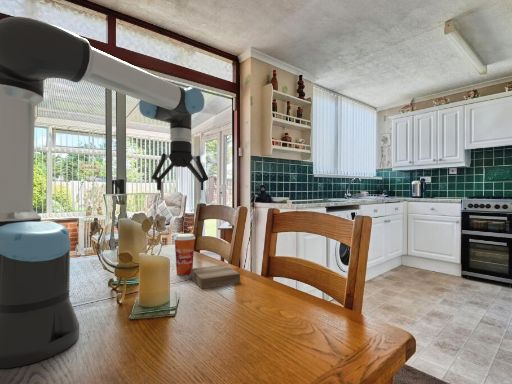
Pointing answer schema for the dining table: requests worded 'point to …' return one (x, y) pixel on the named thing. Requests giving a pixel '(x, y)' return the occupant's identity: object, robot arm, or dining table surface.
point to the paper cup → (184, 253)
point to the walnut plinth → (215, 276)
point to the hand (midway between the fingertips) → (180, 199)
